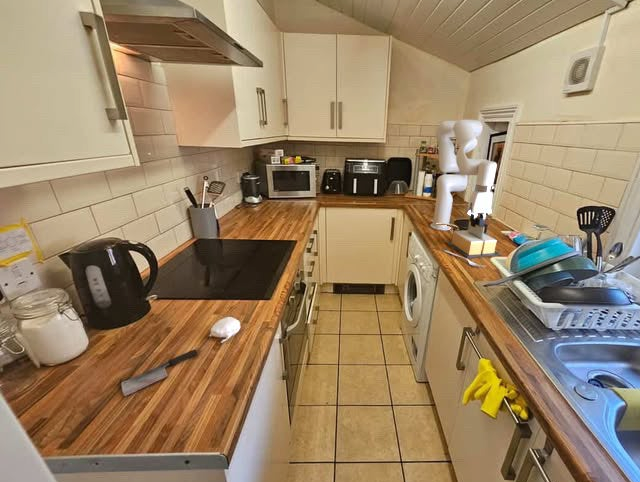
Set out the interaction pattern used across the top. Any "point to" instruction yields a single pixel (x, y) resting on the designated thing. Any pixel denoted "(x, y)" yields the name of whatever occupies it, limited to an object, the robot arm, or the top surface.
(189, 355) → the cleaver
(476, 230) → the knife
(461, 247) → the cake
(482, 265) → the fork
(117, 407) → the top surface
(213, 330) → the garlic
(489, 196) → the robot arm
